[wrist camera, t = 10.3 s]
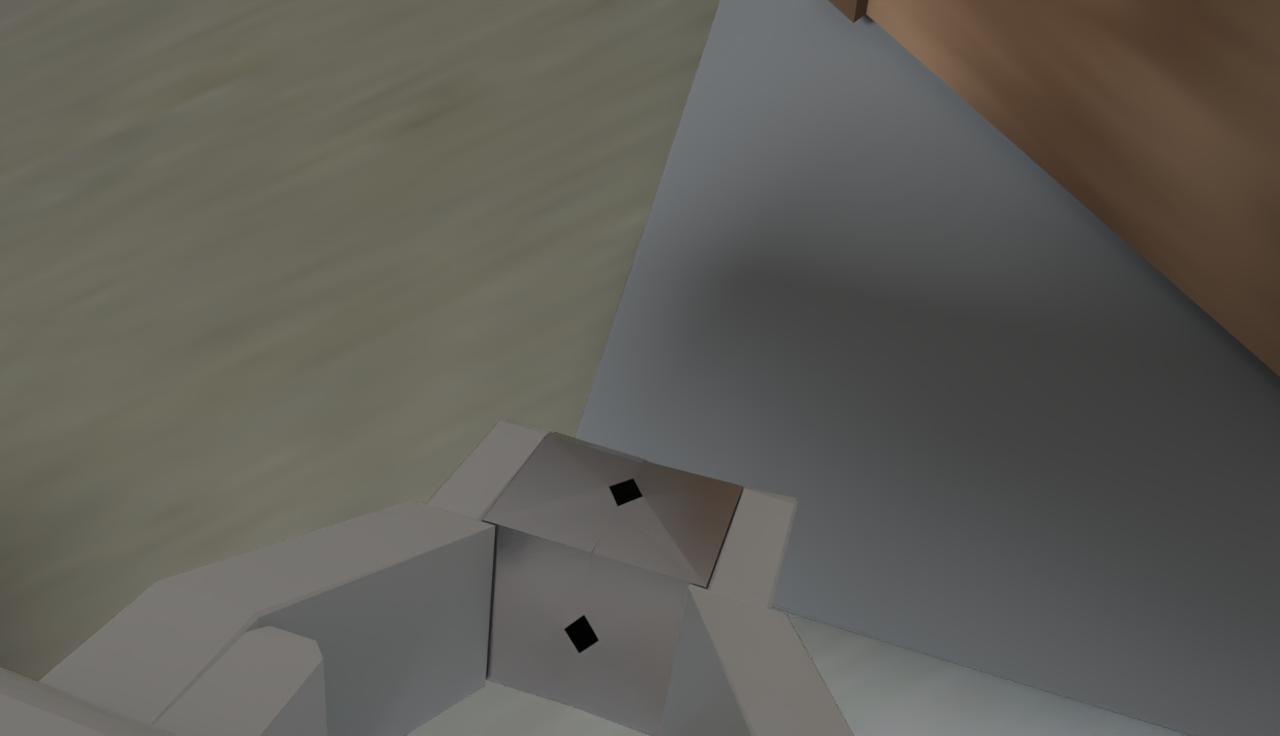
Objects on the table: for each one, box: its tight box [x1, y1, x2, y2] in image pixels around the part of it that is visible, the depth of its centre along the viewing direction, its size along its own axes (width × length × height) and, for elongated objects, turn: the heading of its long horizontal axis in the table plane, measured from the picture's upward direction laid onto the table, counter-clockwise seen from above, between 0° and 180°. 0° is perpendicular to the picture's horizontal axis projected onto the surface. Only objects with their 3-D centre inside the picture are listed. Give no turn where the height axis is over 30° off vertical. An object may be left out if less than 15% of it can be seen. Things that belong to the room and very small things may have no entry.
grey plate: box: [575, 0, 1280, 736], centre depth 20 cm, size 14×22×1 cm, turn 163°
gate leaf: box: [828, 0, 1280, 377], centre depth 14 cm, size 15×2×8 cm, turn 38°
